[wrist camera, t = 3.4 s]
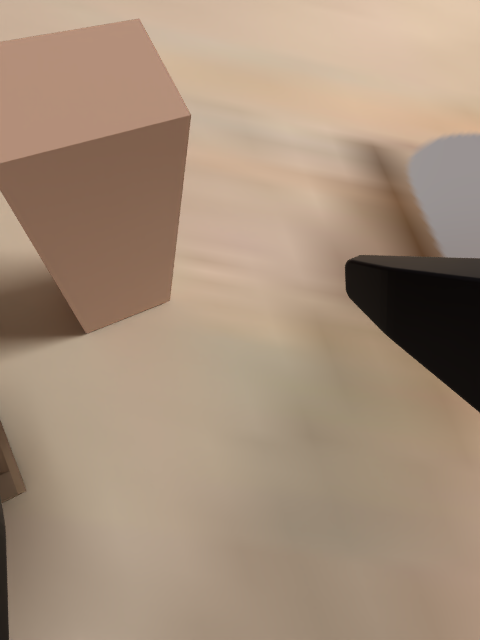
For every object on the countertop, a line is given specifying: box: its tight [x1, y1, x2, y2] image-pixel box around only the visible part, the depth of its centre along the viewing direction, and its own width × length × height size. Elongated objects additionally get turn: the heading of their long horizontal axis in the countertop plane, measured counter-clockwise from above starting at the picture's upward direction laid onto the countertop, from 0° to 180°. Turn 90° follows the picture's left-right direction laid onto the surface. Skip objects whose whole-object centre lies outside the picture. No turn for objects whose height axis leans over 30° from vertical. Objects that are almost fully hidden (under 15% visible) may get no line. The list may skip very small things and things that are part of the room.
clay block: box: [0, 19, 191, 334], centre depth 15 cm, size 3×4×13 cm, turn 117°
